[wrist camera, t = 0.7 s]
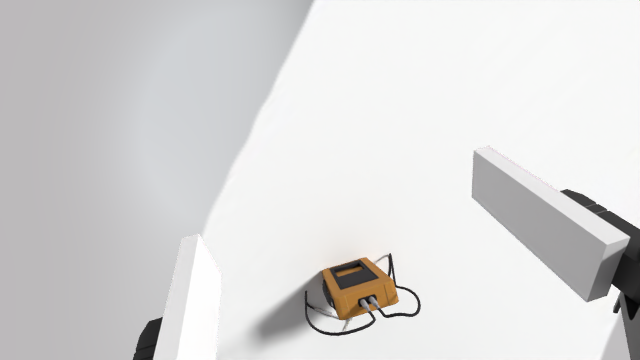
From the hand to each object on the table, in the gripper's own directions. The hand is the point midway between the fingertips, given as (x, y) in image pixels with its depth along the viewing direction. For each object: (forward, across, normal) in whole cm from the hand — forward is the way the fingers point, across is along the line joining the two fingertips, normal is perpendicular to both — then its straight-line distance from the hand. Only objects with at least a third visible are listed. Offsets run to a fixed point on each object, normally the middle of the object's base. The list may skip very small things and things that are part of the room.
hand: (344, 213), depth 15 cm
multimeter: (+21, -1, +33) cm, 39 cm away
